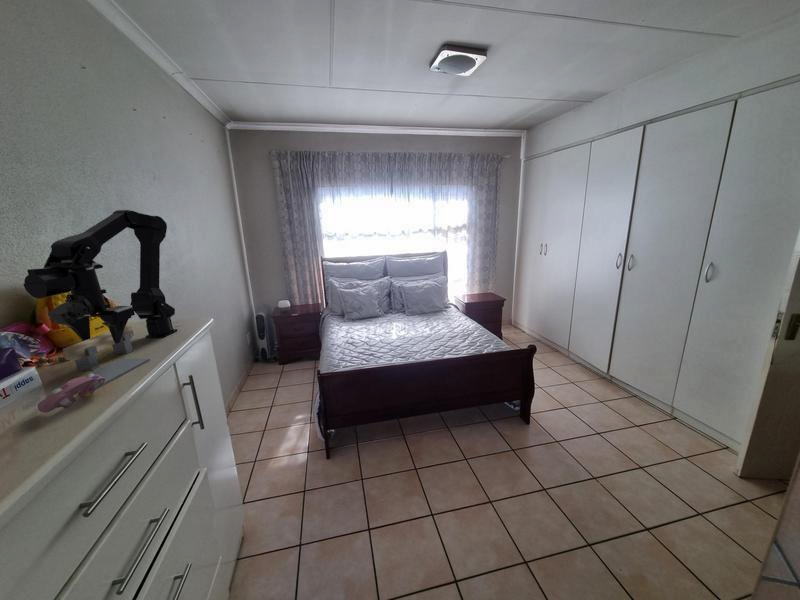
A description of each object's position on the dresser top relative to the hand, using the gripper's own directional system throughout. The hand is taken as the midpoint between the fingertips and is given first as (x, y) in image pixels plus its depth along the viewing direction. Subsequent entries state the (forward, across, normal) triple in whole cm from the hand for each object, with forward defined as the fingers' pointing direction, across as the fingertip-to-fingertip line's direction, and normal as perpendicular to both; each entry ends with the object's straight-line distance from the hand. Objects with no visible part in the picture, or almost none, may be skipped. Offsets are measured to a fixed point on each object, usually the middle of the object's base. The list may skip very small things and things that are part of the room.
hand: (102, 342), depth 86 cm
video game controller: (+5, +14, -20) cm, 25 cm away
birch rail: (+1, 0, 0) cm, 1 cm away
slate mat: (+5, +8, -8) cm, 13 cm away
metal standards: (+5, 0, 0) cm, 5 cm away
